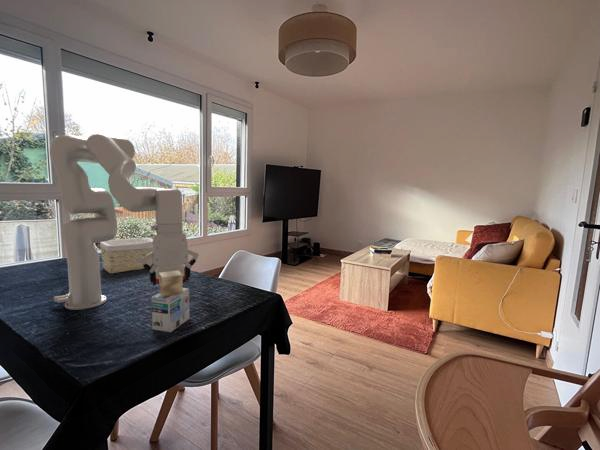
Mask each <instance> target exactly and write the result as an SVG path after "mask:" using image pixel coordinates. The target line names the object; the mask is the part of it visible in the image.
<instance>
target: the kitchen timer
mask: <svg viewBox="0 0 600 450" xmlns="http://www.w3.org/2000/svg"><path fill="white" fill-rule="evenodd" d="M184 267H185V264H181V265H172V266H163V267H157V268H156V270H155V272H156V283H159V273H161V272H169V271H178V270H179V271H180V273H181V274H182V275H183V281H184V280H186V279H185V278H184Z"/></svg>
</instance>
